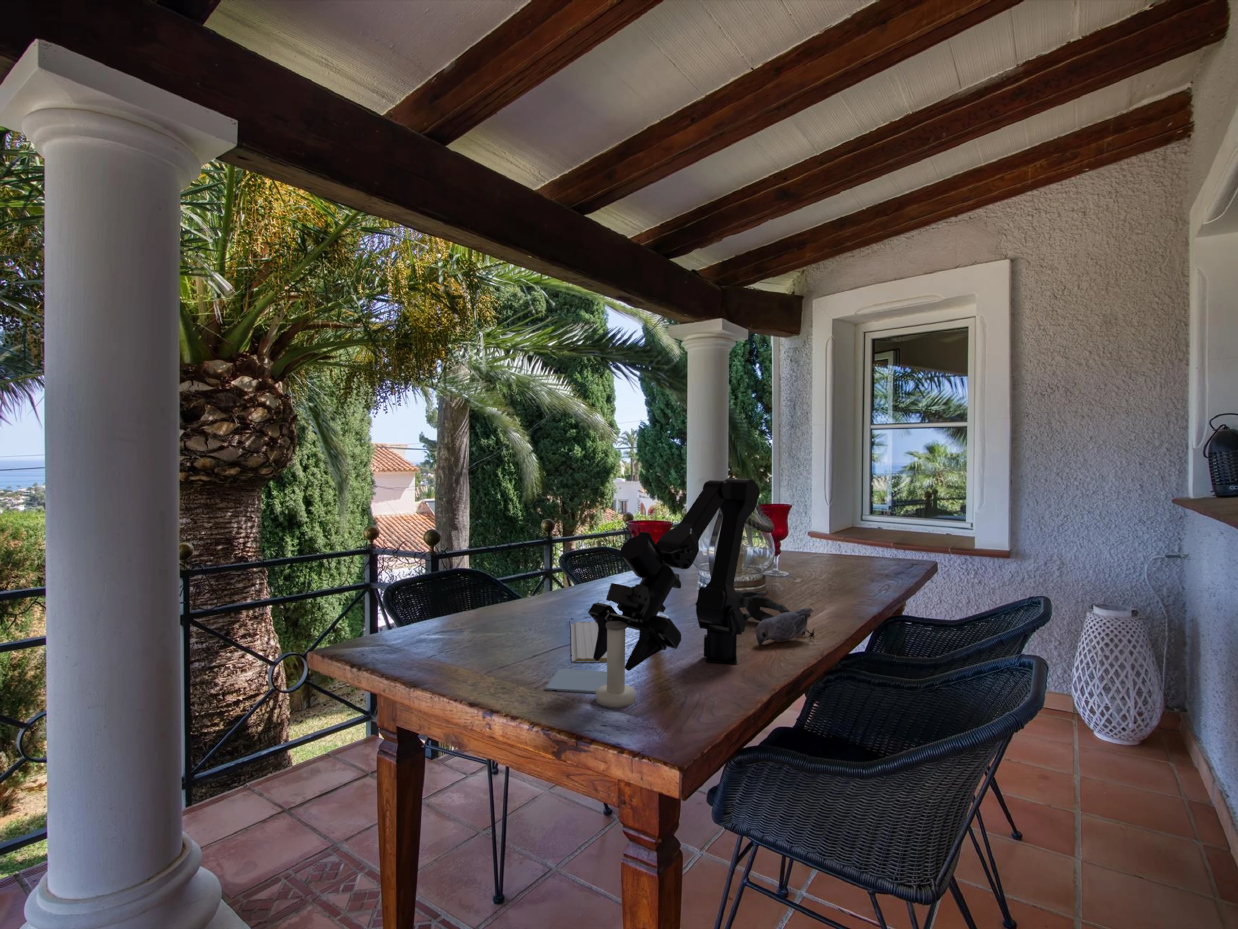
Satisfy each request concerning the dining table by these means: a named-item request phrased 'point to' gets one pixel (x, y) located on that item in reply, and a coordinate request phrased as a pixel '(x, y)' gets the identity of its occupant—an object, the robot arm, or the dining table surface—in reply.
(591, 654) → the baseboard
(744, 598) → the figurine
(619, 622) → the paper towel holder
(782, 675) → the dining table surface
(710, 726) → the dining table surface
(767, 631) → the bird
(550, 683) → the felt pad
